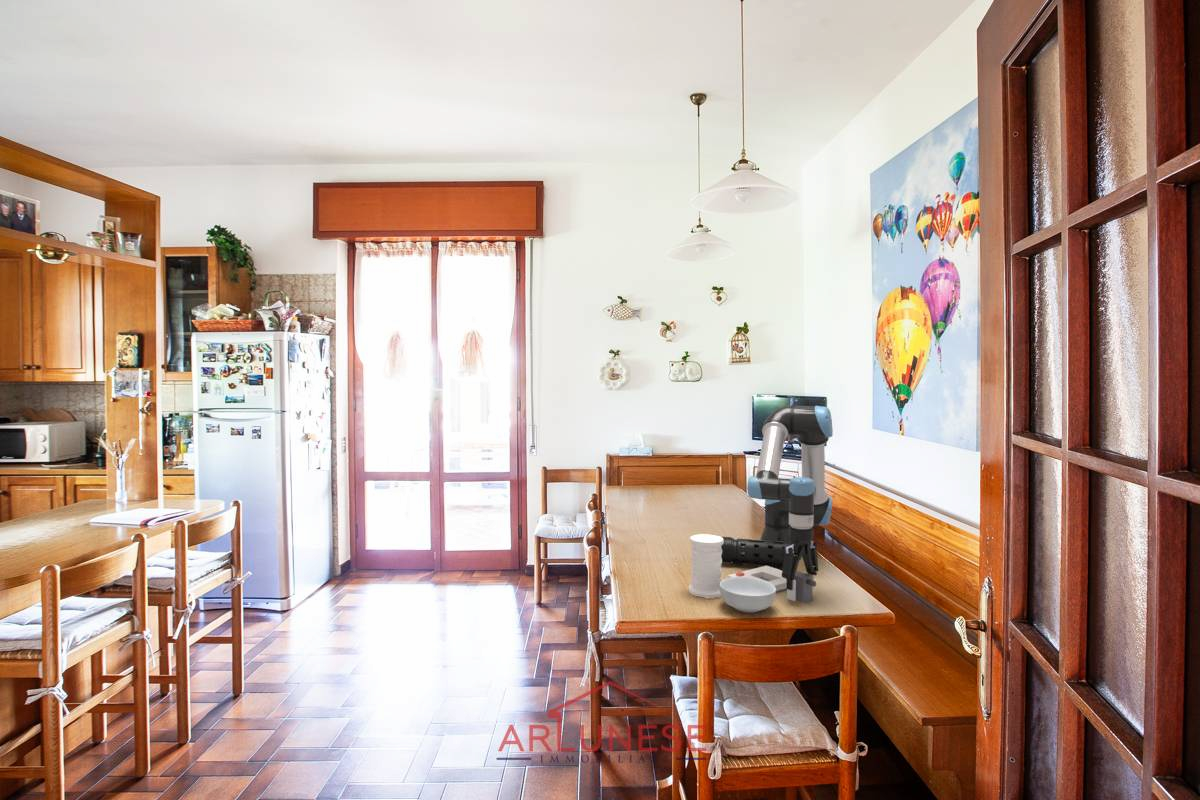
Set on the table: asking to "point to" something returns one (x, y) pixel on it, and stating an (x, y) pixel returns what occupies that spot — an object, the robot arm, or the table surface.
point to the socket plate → (765, 576)
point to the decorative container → (706, 565)
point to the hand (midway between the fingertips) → (799, 596)
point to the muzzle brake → (753, 552)
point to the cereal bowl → (747, 593)
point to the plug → (804, 586)
